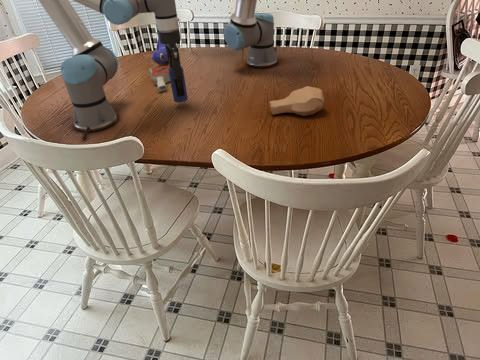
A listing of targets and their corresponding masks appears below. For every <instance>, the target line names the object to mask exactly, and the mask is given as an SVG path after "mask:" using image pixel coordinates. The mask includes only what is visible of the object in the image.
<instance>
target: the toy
mask: <svg viewBox="0 0 480 360" xmlns="http://www.w3.org/2000/svg"><path fill="white" fill-rule="evenodd" d="M158 32H159V31H157V32H155V34H156V35H158ZM175 45H176V46H177V47H178V45H177V43H176V44H175ZM151 51H152V53H151V56H150V59H151V60H152V61H153V62H154V63H155V64H158V67H162V64H165V63H167V62H168V56H167V52H166V48H165V44H162V43H160V40H159V37H158V38H157V42H156V50H151ZM168 63H169V62H168Z"/></svg>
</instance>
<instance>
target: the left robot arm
mask: <svg viewBox="0 0 480 360" xmlns="http://www.w3.org/2000/svg"><path fill="white" fill-rule="evenodd" d="M37 1H38V2H39V4H40V5H41V6H42V8H43V9H44V11H45V13H46V14H47V15H48V17H49V18H50V19H51V21H52V22H53V24H54V25H55V27H56V28H57V30H58V31H59V32H60V34H61V35H62V37H63V38H64V39H65V41H66V43H67V44H68V45H69V46H70V48H71V49H72V53H71V57H68V58H66V59H64V61H62V62H61V64H60V66H59V67H60V72H61V77H62V80H63V82H64V84H65V87H66V90H67V93H68V96H69V99H70V101H71V104H72V108H73V114H72V117H73V118H72V119H73V125H74V128H75V129H76V131H78V132H84V133H83V136H82V138H81V139H82V140H83V141H85V140H86V138H87V135H88V133H92V132H99V131H102V130H105V129H107V128H110V127H111V126H113V125H115V124H116V122H117V121H118V116H117V113H116V111H115V110H114V108H113V107H112V105H111V103H110V102H109V101H108V99H107V96H106V92H105V89H104V86H105V85H106V84H107V83H109V81H110V80H112V79H113V78H114V77H115V75H116V74H117V72H118V69H119V61H118V57H117V55H116V54H115V52H114V51H113V50H111V48H108V47H106V46H104V44H103V43H102V41H101V40H100V39H97V38H95V37H93V35H92V34H91V32H90V31H89V29H88V27H87V26H86V25H85V23H84V21H83V20H82V18H81V17H80V16H79V14H78V12H77V11H76V9H75V8H74V6H73V5H72V3H71V2H70V0H37ZM72 1H73V2H76V3H78V4H79V5H82V6H85V7H86V8H89V9H90V10H93V11H95V12H98V13H99V14H102V15H104V18H105V19H106V20H107V21H108V22H109V23H110V24H113V25H116V26H121V25H124V24H127V23H128V22H130V21H132V19H133V18H135V17H136V16H138V15H139V14H150V13H151V14H152V13H154V19H155V25H156V30H157V32H158V34H157V35H158V38H159V40H160V43H162V44H165V48H166V52H167V56H168V66H169V67H173V72H174V76H175V79H173V81H175V85H176V91H177V96H178V97H180V96H185V94H184V88H183V82H182V79H183V76H182V70H181V66H182V65H181V59H180V52H179V47H178V45H177V46H176V45H175V44H177V43H180V42H181V40H182V38H181V31H180V29H179V28H180V26H179V22H180V18H178V12H177V6H176V0H72Z"/></svg>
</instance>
